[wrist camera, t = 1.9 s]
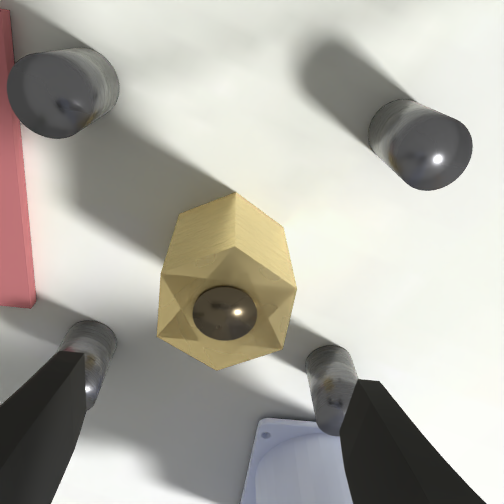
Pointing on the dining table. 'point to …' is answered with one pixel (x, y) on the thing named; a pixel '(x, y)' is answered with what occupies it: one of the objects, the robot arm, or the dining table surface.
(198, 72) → the dining table surface
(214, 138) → the dining table surface
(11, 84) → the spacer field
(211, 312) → the brass nut
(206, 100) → the dining table surface
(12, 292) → the red mat
